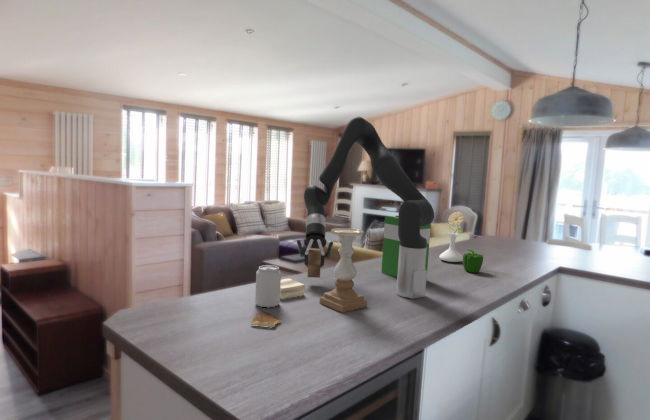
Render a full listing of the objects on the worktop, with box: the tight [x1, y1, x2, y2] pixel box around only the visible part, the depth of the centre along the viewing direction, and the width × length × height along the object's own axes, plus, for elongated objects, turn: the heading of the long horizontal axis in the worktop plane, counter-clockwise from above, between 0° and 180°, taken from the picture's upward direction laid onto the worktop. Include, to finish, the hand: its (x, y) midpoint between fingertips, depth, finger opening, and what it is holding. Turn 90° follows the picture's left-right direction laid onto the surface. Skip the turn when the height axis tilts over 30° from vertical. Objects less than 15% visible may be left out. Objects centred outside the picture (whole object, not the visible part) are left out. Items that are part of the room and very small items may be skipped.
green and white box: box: [380, 215, 432, 281], centre depth 171 cm, size 18×7×24 cm, turn 39°
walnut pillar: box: [307, 247, 322, 278], centre depth 152 cm, size 4×4×10 cm
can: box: [254, 264, 282, 309], centre depth 128 cm, size 8×8×12 cm
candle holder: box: [319, 227, 368, 313], centre depth 131 cm, size 11×11×24 cm
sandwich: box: [250, 309, 282, 328], centre depth 116 cm, size 11×8×2 cm
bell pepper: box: [462, 248, 484, 274], centre depth 186 cm, size 8×8×10 cm
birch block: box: [280, 278, 305, 300], centre depth 141 cm, size 9×9×4 cm
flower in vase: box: [438, 211, 465, 263], centre depth 204 cm, size 13×11×25 cm
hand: (314, 265), depth 150 cm, fingers closed on walnut pillar, 4 cm apart
